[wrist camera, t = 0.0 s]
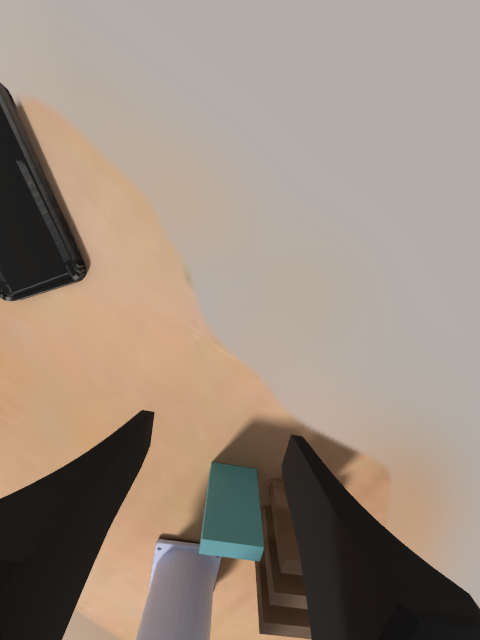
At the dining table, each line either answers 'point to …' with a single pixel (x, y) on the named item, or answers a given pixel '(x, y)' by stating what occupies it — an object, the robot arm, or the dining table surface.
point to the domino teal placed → (232, 514)
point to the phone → (30, 219)
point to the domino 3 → (278, 611)
